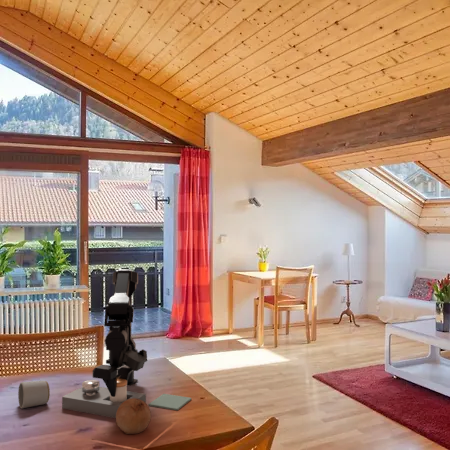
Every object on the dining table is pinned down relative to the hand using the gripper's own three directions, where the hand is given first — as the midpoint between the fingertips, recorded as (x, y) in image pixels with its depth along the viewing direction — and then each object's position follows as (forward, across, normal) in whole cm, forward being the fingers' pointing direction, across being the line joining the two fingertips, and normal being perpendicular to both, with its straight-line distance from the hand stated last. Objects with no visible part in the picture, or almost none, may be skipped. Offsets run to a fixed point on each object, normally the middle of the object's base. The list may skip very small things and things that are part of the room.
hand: (118, 393), depth 152 cm
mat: (+5, +11, -12) cm, 17 cm away
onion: (+5, -11, -12) cm, 17 cm away
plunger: (+5, 0, +10) cm, 11 cm away
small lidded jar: (+4, 0, 0) cm, 4 cm away
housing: (+5, 0, +5) cm, 7 cm away
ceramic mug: (+6, -6, +28) cm, 29 cm away
